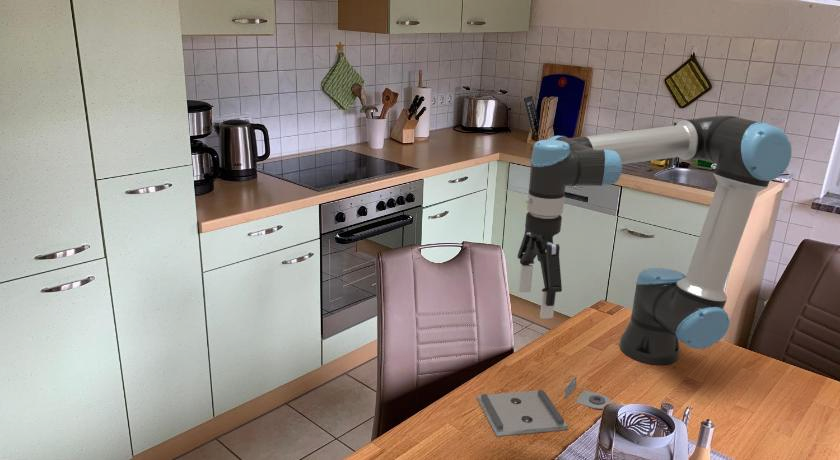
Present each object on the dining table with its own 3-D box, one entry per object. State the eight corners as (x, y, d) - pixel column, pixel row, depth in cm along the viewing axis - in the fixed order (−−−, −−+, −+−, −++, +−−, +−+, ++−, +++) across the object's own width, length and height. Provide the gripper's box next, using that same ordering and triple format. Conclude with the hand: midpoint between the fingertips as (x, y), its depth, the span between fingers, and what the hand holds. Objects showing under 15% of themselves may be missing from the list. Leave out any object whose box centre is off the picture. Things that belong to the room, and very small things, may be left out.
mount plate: (542, 393, 153) (543, 387, 152) (567, 429, 140) (568, 422, 139) (477, 398, 149) (478, 392, 149) (496, 436, 136) (497, 429, 136)
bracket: (606, 414, 147) (608, 401, 145) (563, 399, 152) (565, 386, 151) (614, 401, 152) (617, 388, 151) (573, 387, 157) (575, 375, 156)
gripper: (508, 197, 149) (501, 282, 156) (549, 233, 126) (539, 330, 133) (539, 197, 151) (531, 281, 158) (585, 231, 128) (573, 328, 134)
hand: (534, 304), depth 145 cm, fingers open, 13 cm apart
